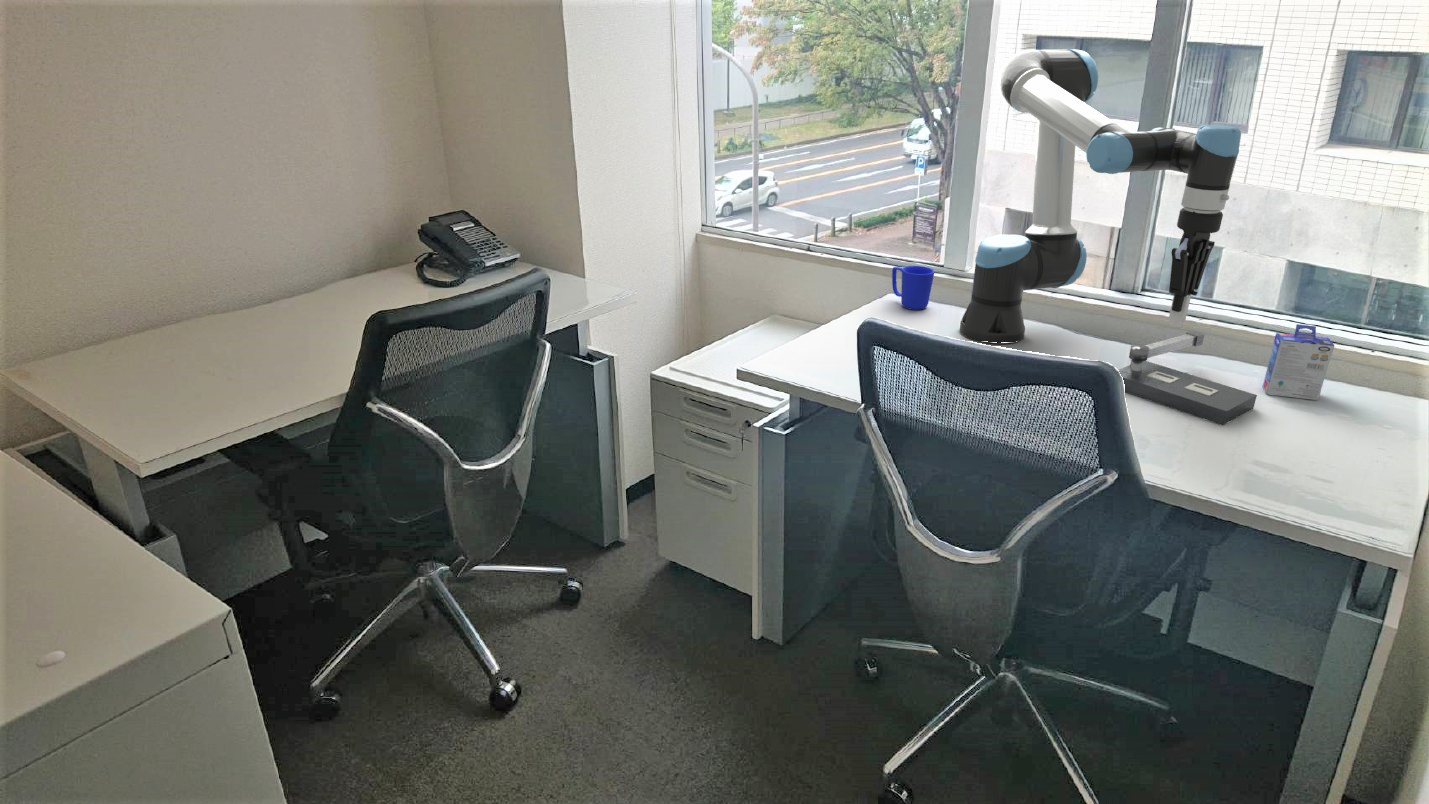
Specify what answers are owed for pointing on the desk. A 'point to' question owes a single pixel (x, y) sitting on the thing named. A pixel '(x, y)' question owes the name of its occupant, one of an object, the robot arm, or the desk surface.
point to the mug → (914, 286)
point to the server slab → (1186, 392)
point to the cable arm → (1165, 346)
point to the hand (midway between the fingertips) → (1175, 325)
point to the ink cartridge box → (1298, 364)
